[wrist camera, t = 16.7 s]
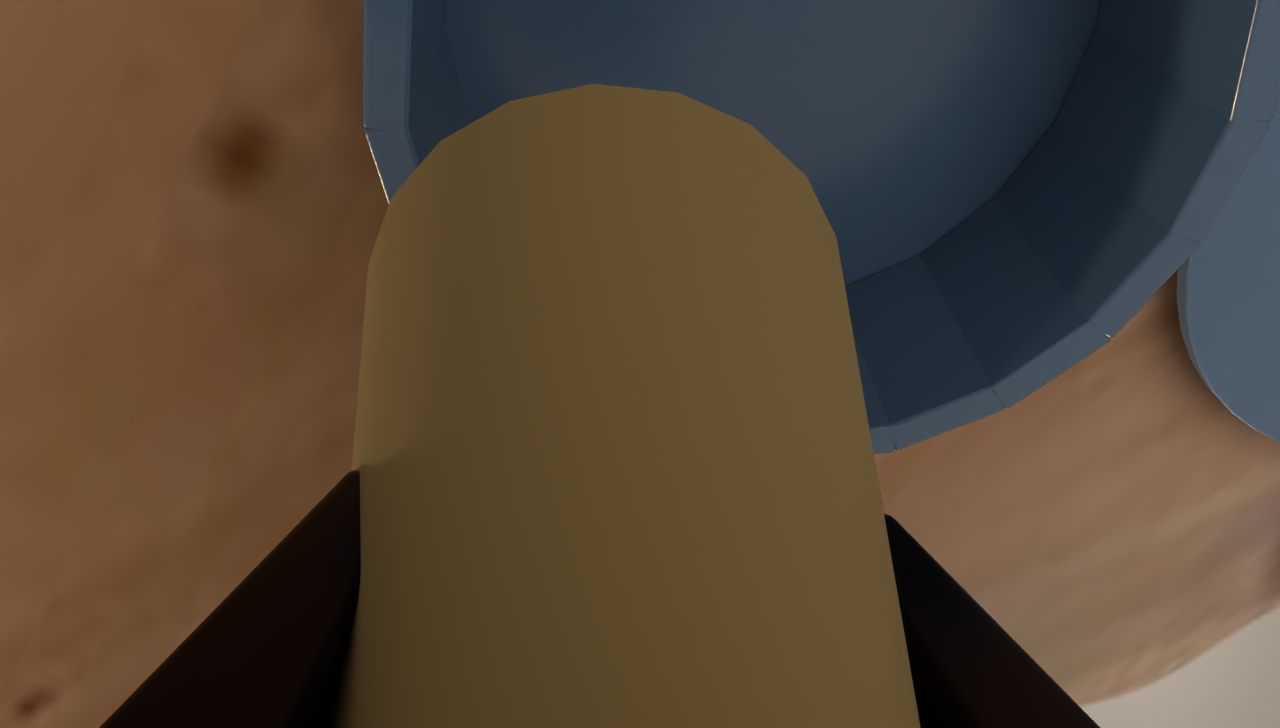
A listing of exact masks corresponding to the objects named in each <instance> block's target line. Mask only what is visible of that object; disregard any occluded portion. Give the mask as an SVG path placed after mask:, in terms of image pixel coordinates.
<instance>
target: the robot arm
mask: <svg viewBox="0 0 1280 728" xmlns="http://www.w3.org/2000/svg"><path fill="white" fill-rule="evenodd" d="M884 517H885V523H886V529H887V535H888V540H889V546H890V552H891V558H892V564H893V570H894V576H895V581H896V587H897V593H898V599H899V605H900V611H901V616H902V622H903V628H904V634H905V640H906V646H907V651H908V657H909V663H910V669H911V675H912V681H913V686H914V692H915V698H916V704H917V710H918V716H919V722H920V727H921V728H1100V727H1099V726H1098V725H1097V724H1096V723H1095V722H1094V721H1093V720H1092V719H1091V718H1090V717H1089V716H1088V715H1087V714H1086V713H1085V712H1084V711H1083V710H1082V709H1081V708H1080V707H1079V706H1078V705H1077V704H1076V703H1075V702H1074V701H1073V700H1072V699H1071V697H1070V696H1069V695H1068V694H1067V693H1066V692H1065V691H1064V690H1063V689H1062V688H1061V687H1060V686H1059V685H1058V684H1057V683H1056V682H1055V681H1054V680H1053V679H1052V678H1051V677H1050V676H1049V675H1048V674H1047V673H1046V672H1045V671H1044V670H1043V669H1042V668H1041V667H1040V666H1039V665H1038V664H1037V663H1036V662H1035V661H1034V660H1033V659H1032V658H1031V657H1030V656H1029V655H1028V654H1027V653H1026V652H1025V651H1024V650H1023V649H1022V648H1021V647H1020V646H1019V645H1018V644H1017V643H1016V642H1015V641H1014V640H1013V639H1012V638H1011V637H1010V636H1009V635H1008V634H1007V633H1006V631H1005V630H1004V629H1003V628H1002V627H1001V626H1000V625H999V624H998V623H997V622H996V621H995V620H994V619H993V618H992V617H991V616H990V615H989V614H988V613H987V612H986V611H985V610H984V609H983V608H982V607H981V606H980V605H979V604H978V603H977V602H976V601H975V600H974V599H973V598H972V597H971V596H970V595H969V594H968V593H967V592H966V591H965V590H964V589H963V588H962V587H961V586H960V585H959V584H958V583H957V582H956V581H955V580H954V579H953V578H952V577H951V576H950V575H949V574H948V573H947V572H946V571H945V570H944V569H943V568H942V567H941V566H940V564H939V563H938V562H937V561H936V560H935V559H934V558H933V557H932V556H931V555H930V554H929V553H928V552H927V551H926V550H925V549H924V548H923V547H922V546H921V545H920V544H919V543H918V542H917V541H916V540H915V539H914V538H913V537H912V536H911V535H910V534H909V533H908V532H907V531H906V530H905V529H904V528H903V527H902V526H901V525H900V524H899V523H898V522H897V521H896V520H895V519H894V518H892V517H891V516H889V515H886V514H884ZM360 575H361V535H360V472H359V470H353V471H351V472H349V473H348V474H346V475H345V476H344V477H343V478H342V480H341V481H340V482H339V483H338V484H337V485H336V486H335V487H334V488H333V489H332V490H331V491H330V492H329V493H328V494H327V495H326V496H325V497H324V498H323V499H322V500H321V501H320V502H319V503H318V504H317V505H316V506H315V507H314V508H313V509H312V510H311V511H310V512H309V513H308V514H307V515H306V516H305V517H304V518H303V520H302V521H301V522H300V523H299V524H298V525H297V526H296V527H295V528H294V529H293V530H292V531H291V532H290V533H289V534H288V535H287V536H286V537H285V538H284V539H283V540H282V541H281V542H280V543H279V544H278V545H277V546H276V547H275V548H274V549H273V550H272V551H271V552H270V553H269V554H268V555H267V556H266V557H265V558H264V559H263V560H262V562H261V563H260V564H259V565H258V566H257V567H256V568H255V569H254V570H253V571H252V572H251V573H250V574H249V575H248V576H247V577H246V578H245V579H244V580H243V581H242V582H241V583H240V584H239V585H238V586H237V587H236V588H235V589H234V590H233V591H232V592H231V593H230V594H229V595H228V596H227V597H226V598H225V599H224V600H223V601H222V603H221V604H220V605H219V606H218V607H217V608H216V609H215V610H214V611H213V612H212V613H211V614H210V615H209V616H208V617H207V618H206V619H205V620H204V621H203V622H202V623H201V624H200V625H199V626H198V627H197V628H196V629H195V630H194V631H193V632H192V633H191V634H190V635H189V636H188V637H187V638H186V639H185V640H184V641H183V642H182V643H181V645H180V646H179V647H178V648H177V649H176V650H175V651H174V652H173V653H172V654H171V655H170V656H169V657H168V658H167V659H166V660H165V661H164V662H163V663H162V664H161V665H160V666H159V667H158V668H157V669H156V670H155V671H154V672H153V673H152V674H151V675H150V676H149V677H148V678H147V679H146V680H145V681H144V682H143V683H142V684H141V685H140V687H139V688H138V689H137V690H136V691H135V692H134V693H133V694H132V695H131V696H130V697H129V698H128V699H127V700H126V701H125V702H124V703H123V704H122V705H121V706H120V707H119V708H118V709H117V710H116V711H115V712H114V713H113V714H112V715H111V716H110V717H109V718H108V719H107V720H106V721H105V722H104V723H103V724H102V725H101V726H100V727H99V728H330V725H331V714H332V710H333V705H334V701H335V697H336V692H337V688H338V683H339V679H340V675H341V670H342V666H343V661H344V657H345V653H346V648H347V644H348V640H349V635H350V631H351V626H352V622H353V618H354V613H355V609H356V604H357V600H358V595H359V588H360Z"/></svg>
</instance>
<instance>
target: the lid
mask: <svg viewBox="0 0 1280 728" xmlns="http://www.w3.org/2000/svg"><path fill="white" fill-rule="evenodd" d="M1269 121H1270V125H1269V127H1268V129H1267V131H1266V133H1265V134H1264V136H1263V138H1262V140H1261V141H1260V143H1259V145H1258V147H1257V148H1256V150H1255V152H1254V154H1253V155H1252V157H1251V159H1250V161H1249V162H1248V164H1247V166H1246V168H1245V169H1244V171H1243V173H1242V175H1241V176H1240V178H1239V180H1238V182H1237V184H1236V185H1235V187H1234V189H1233V191H1232V192H1231V194H1230V196H1229V198H1228V199H1227V201H1226V203H1225V205H1224V206H1223V208H1222V210H1221V212H1220V213H1219V215H1218V217H1217V219H1216V220H1215V222H1214V224H1213V226H1212V227H1211V229H1210V231H1209V233H1208V234H1207V236H1206V238H1205V239H1204V240H1203V241H1202V242H1199V243H1200V246H1199V248H1198V249H1197V250H1196V251H1195V252H1194V253H1193V254H1192V255H1191V256H1190V257H1189V258H1188V259H1187V260H1186V261H1185V262H1184V263H1183V264H1182V265H1181V266H1180V267H1179V269H1178V274H1177V307H1178V314H1179V322H1180V329H1181V333H1182V336H1183V339H1184V342H1185V345H1186V348H1187V351H1188V354H1189V357H1190V360H1191V361H1192V363H1193V365H1194V366H1195V368H1196V370H1197V371H1198V373H1199V375H1200V377H1201V378H1202V380H1203V382H1204V383H1205V384H1206V386H1207V387H1208V388H1209V389H1210V390H1211V392H1212V393H1213V394H1214V395H1215V396H1216V397H1217V398H1218V399H1219V400H1220V402H1221V403H1222V404H1223V405H1224V406H1225V407H1226V408H1227V409H1228V410H1229V411H1230V412H1231V413H1232V414H1233V415H1235V416H1236V417H1237V418H1239V419H1240V420H1241V421H1243V422H1244V423H1245V424H1247V425H1248V426H1249V427H1251V428H1252V429H1254V430H1256V431H1258V432H1260V433H1262V434H1264V435H1266V436H1268V437H1270V438H1272V439H1274V440H1276V441H1278V442H1280V92H1279V96H1278V100H1277V104H1276V108H1275V112H1274V116H1273V117H1272V119H1270V120H1269Z"/></svg>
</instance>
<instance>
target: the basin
mask: <svg viewBox="0 0 1280 728" xmlns="http://www.w3.org/2000/svg"><path fill="white" fill-rule="evenodd" d="M589 84H602V85H611V86H621V87H631V88H640V89H650V90H660V91H669V92H678V93H680V94H683V95H685V96H687V97H689V98H692V99H694V100H696V101H698V102H701V103H703V104H705V105H707V106H710V107H712V108H714V109H717V110H719V111H721V112H723V113H726V114H728V115H730V116H732V117H735V118H737V119H739V120H741V121H744V122H746V123H748V124H750V125H752V126H753V127H754V128H755V129H757V130H758V131H759V132H760V133H761V134H762V135H763V136H764V137H765V138H766V139H767V140H768V141H769V142H770V143H771V144H773V145H774V146H775V147H776V148H777V149H778V150H779V151H780V152H781V153H782V154H783V155H784V156H785V157H786V158H788V159H789V160H790V161H791V162H792V163H793V164H794V165H795V166H796V167H797V168H798V169H799V170H800V171H801V172H802V173H804V174H805V175H806V176H807V178H808V180H809V182H810V184H811V186H812V189H813V191H814V193H815V195H816V197H817V199H818V201H819V203H820V205H821V207H822V209H823V211H824V213H825V215H826V217H827V219H828V221H829V223H830V225H831V227H832V229H833V231H834V233H835V235H836V237H837V243H838V249H839V254H840V260H841V266H842V272H843V278H844V284H845V289H846V295H847V301H848V307H849V313H850V319H851V324H852V330H853V336H854V342H855V348H856V354H857V359H858V365H859V371H860V377H861V383H862V389H863V395H864V400H865V406H866V412H867V418H868V424H869V430H870V435H871V441H872V447H873V453H874V454H881V453H888V452H893V451H894V450H895V449H896V450H900V449H902V448H905V447H908V446H910V445H913V444H916V443H918V442H921V441H923V440H926V439H929V438H931V437H934V436H937V435H939V434H942V433H944V432H947V431H950V430H952V429H955V428H957V427H960V426H963V425H965V424H968V423H971V422H973V421H976V420H978V419H981V418H984V417H986V416H989V415H992V414H994V413H997V412H999V411H1002V410H1003V409H1005V408H1010V407H1011V406H1013V405H1014V404H1016V403H1017V402H1019V401H1020V400H1022V399H1023V398H1025V397H1026V396H1028V395H1029V394H1031V393H1032V392H1034V391H1035V390H1037V389H1038V388H1040V387H1041V386H1043V385H1045V384H1046V383H1048V382H1049V381H1051V380H1052V379H1054V378H1055V377H1057V376H1058V375H1060V374H1061V373H1063V372H1064V371H1066V370H1067V369H1069V368H1070V367H1072V366H1073V365H1075V364H1076V363H1078V362H1079V361H1081V360H1082V359H1084V358H1085V357H1087V356H1088V355H1090V354H1091V353H1093V352H1094V351H1096V350H1097V349H1099V348H1100V347H1102V346H1104V345H1105V344H1107V343H1108V342H1109V341H1110V338H1112V337H1114V336H1115V335H1116V334H1117V333H1118V332H1119V330H1120V329H1121V328H1122V327H1123V326H1124V325H1125V324H1126V323H1127V322H1128V321H1129V320H1130V319H1131V318H1132V317H1133V316H1134V315H1135V314H1136V313H1137V312H1138V311H1139V309H1140V308H1141V307H1142V306H1143V305H1144V304H1145V303H1146V302H1147V301H1148V300H1149V299H1150V298H1151V297H1152V296H1153V295H1154V294H1155V293H1156V292H1157V291H1158V290H1159V288H1160V287H1161V286H1162V285H1163V284H1164V283H1165V282H1166V281H1167V280H1168V279H1169V278H1170V277H1171V276H1172V275H1173V274H1174V273H1175V272H1176V271H1177V270H1178V269H1179V267H1180V266H1181V265H1182V264H1183V263H1184V262H1185V261H1186V260H1187V259H1188V258H1189V257H1190V256H1191V255H1192V254H1193V253H1194V252H1195V251H1196V250H1197V249H1198V248H1199V246H1200V243H1199V242H1202V241H1203V240H1204V239H1205V238H1206V236H1207V234H1208V233H1209V231H1210V229H1211V227H1212V226H1213V224H1214V222H1215V220H1216V219H1217V217H1218V215H1219V213H1220V212H1221V210H1222V208H1223V206H1224V205H1225V203H1226V201H1227V199H1228V198H1229V196H1230V194H1231V192H1232V191H1233V189H1234V187H1235V185H1236V184H1237V182H1238V180H1239V178H1240V176H1241V175H1242V173H1243V171H1244V169H1245V168H1246V166H1247V164H1248V162H1249V161H1250V159H1251V157H1252V155H1253V154H1254V152H1255V150H1256V148H1257V147H1258V145H1259V143H1260V141H1261V140H1262V138H1263V136H1264V134H1265V133H1266V131H1267V129H1268V127H1269V125H1270V121H1269V120H1270V119H1272V117H1273V116H1274V112H1275V108H1276V104H1277V100H1278V96H1279V92H1280V0H363V83H362V123H363V126H364V127H365V129H364V134H365V137H366V140H367V143H368V146H369V149H370V152H371V155H372V158H373V161H374V164H375V167H376V170H377V173H378V176H379V179H380V182H381V185H382V188H383V191H384V194H385V197H386V200H387V203H388V206H389V203H390V200H391V198H392V197H393V195H394V194H395V193H396V192H397V191H398V190H399V188H400V187H401V186H402V185H403V184H404V183H405V181H406V180H407V179H408V178H409V177H410V176H411V174H412V173H413V172H414V171H415V170H416V169H417V167H418V166H419V165H420V164H421V163H422V161H423V160H424V159H425V158H426V157H427V156H428V154H429V153H430V152H431V151H432V150H433V149H434V147H435V146H436V145H437V144H438V143H439V142H440V141H441V140H443V139H445V138H446V137H448V136H450V135H452V134H453V133H455V132H457V131H459V130H460V129H462V128H464V127H466V126H467V125H469V124H471V123H473V122H474V121H476V120H478V119H479V118H481V117H483V116H485V115H486V114H488V113H490V112H492V111H493V110H495V109H497V108H499V107H500V106H502V105H504V104H505V103H507V102H509V101H512V100H517V99H522V98H527V97H531V96H536V95H541V94H546V93H551V92H555V91H560V90H565V89H570V88H575V87H579V86H584V85H589Z"/></svg>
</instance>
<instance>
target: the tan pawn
mask: <svg viewBox="0 0 1280 728" xmlns="http://www.w3.org/2000/svg"><path fill="white" fill-rule="evenodd" d="M353 470H359V472H360V535H361V575H360V588H359V595H358V600H357V604H356V609H355V613H354V618H353V622H352V626H351V631H350V635H349V640H348V644H347V648H346V653H345V657H344V661H343V666H342V670H341V675H340V679H339V683H338V688H337V692H336V697H335V701H334V705H333V710H332V714H331V725H330V728H921V727H920V722H919V716H918V710H917V704H916V698H915V692H914V686H913V681H912V675H911V669H910V663H909V657H908V651H907V646H906V640H905V634H904V628H903V622H902V616H901V611H900V605H899V599H898V593H897V587H896V581H895V576H894V570H893V564H892V558H891V552H890V546H889V540H888V535H887V529H886V523H885V517H884V511H883V505H882V500H881V494H880V488H879V482H878V476H877V470H876V465H875V459H874V453H873V447H872V441H871V435H870V430H869V424H868V418H867V412H866V406H865V400H864V395H863V389H862V383H861V377H860V371H859V365H858V359H857V354H856V348H855V342H854V336H853V330H852V324H851V319H850V313H849V307H848V301H847V295H846V289H845V284H844V278H843V272H842V266H841V260H840V254H839V249H838V243H837V237H836V235H835V233H834V231H833V229H832V227H831V225H830V223H829V221H828V219H827V217H826V215H825V213H824V211H823V209H822V207H821V205H820V203H819V201H818V199H817V197H816V195H815V193H814V191H813V189H812V186H811V184H810V182H809V180H808V178H807V176H806V175H805V174H804V173H802V172H801V171H800V170H799V169H798V168H797V167H796V166H795V165H794V164H793V163H792V162H791V161H790V160H789V159H788V158H786V157H785V156H784V155H783V154H782V153H781V152H780V151H779V150H778V149H777V148H776V147H775V146H774V145H773V144H771V143H770V142H769V141H768V140H767V139H766V138H765V137H764V136H763V135H762V134H761V133H760V132H759V131H758V130H757V129H755V128H754V127H753V126H752V125H750V124H748V123H746V122H744V121H741V120H739V119H737V118H735V117H732V116H730V115H728V114H726V113H723V112H721V111H719V110H717V109H714V108H712V107H710V106H707V105H705V104H703V103H701V102H698V101H696V100H694V99H692V98H689V97H687V96H685V95H683V94H680V93H678V92H669V91H660V90H650V89H640V88H631V87H621V86H611V85H602V84H589V85H584V86H579V87H575V88H570V89H565V90H560V91H555V92H551V93H546V94H541V95H536V96H531V97H527V98H522V99H517V100H512V101H509V102H507V103H505V104H504V105H502V106H500V107H499V108H497V109H495V110H493V111H492V112H490V113H488V114H486V115H485V116H483V117H481V118H479V119H478V120H476V121H474V122H473V123H471V124H469V125H467V126H466V127H464V128H462V129H460V130H459V131H457V132H455V133H453V134H452V135H450V136H448V137H446V138H445V139H443V140H441V141H440V142H439V143H438V144H437V145H436V146H435V147H434V149H433V150H432V151H431V152H430V153H429V154H428V156H427V157H426V158H425V159H424V160H423V161H422V163H421V164H420V165H419V166H418V167H417V169H416V170H415V171H414V172H413V173H412V174H411V176H410V177H409V178H408V179H407V180H406V181H405V183H404V184H403V185H402V186H401V187H400V188H399V190H398V191H397V192H396V193H395V194H394V195H393V197H392V198H391V200H390V203H389V206H388V208H387V211H386V214H385V217H384V220H383V223H382V225H381V228H380V231H379V234H378V237H377V240H376V243H375V245H374V248H373V251H372V254H371V257H370V260H369V262H368V273H367V285H366V297H365V309H364V322H363V334H362V346H361V358H360V371H359V383H358V395H357V407H356V419H355V432H354V444H353V456H352V468H351V471H353Z"/></svg>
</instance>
